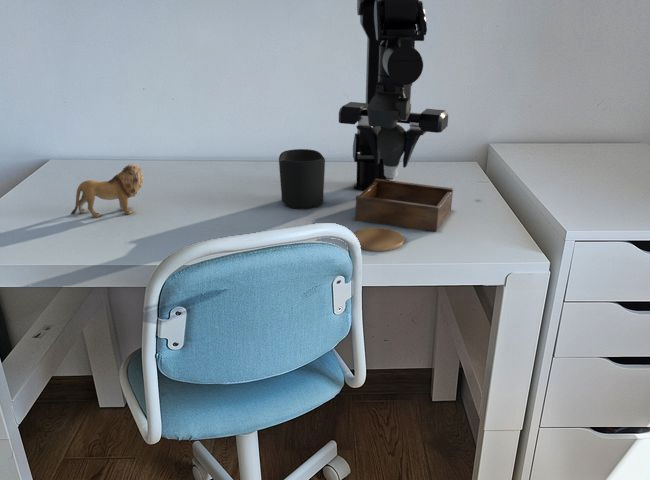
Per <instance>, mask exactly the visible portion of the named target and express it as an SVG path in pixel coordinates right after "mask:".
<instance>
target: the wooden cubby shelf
mask: <svg viewBox="0 0 650 480" xmlns="http://www.w3.org/2000/svg"><path fill="white" fill-rule="evenodd" d="M453 194H454V188H452V187H445V186H438V185H430V184H422V183H414V182H406V181H398V180H384V179H375V180H374V182H373V183H372V184H371V185H370V186H369V187H368V188H367V189H366V190H363V191H362V192H361V193H360V194H357V195H356V196H355V221H360V222H361V221H362V222H368V223H374V224H381V225H389V226H396V227H402V228H409V229H416V230H423V231H430V232H437V231H438V230H439V229H440V227H441V226H442V224H443V223H444V222H445V220H446V219H447V217H448V216H449V214H450V213H451V212H452V206H453V205H452V203H453Z"/></svg>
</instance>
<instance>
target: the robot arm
mask: <svg viewBox="0 0 650 480" xmlns="http://www.w3.org/2000/svg"><path fill="white" fill-rule="evenodd" d="M356 13H357V16H359V24H360V25H361V28H362V29H363V32H364V33H365V36H366V38H367V39H366V40H367V41H366V69H365V71H366V72H365V73H366V74H365V75H366V77H365V102H358V101H350V102H347V103H345V104H344V105H342V106H341V107H340V108H339V111H338V123H339V124H343V125H345V124H346V125H356V124H357V125H356V126H355V127H356V130H357V133H356V132H355V133H354V136H353V142H352V158H353V161H354V163H356V180H355V182H356V183H355V184H354V185H353V189H355V190H363V191H364V190H366V189H367V188H368V187H369V186H370V185H371V184H372V183H373V182H374V180H375V179H384V180H388V178H387V177H386V176H385V175H384V163H383V158H382V155H381V153H380V151H379V149H378V145H377V136H378V133H379V131H380V130H381V129H382V128H383V127H386V128H394V127H395V126H396V125H397V124H399V123H400V124H408V126H409V128H408V129H407V130H405V131H406V144H405V150H404V153H403V157H402V167H403V168H407V166H408V164H409V162H410V159H411V157H412V154H413V152H414V149H415V147H416V145H417V144H418V141H419V139H420V137H422V136H424V135H425V134H426V133H436V134H438V133H443V131H444V130H445V129H447V128H448V126H449V113H448V112H447V111H446V110H445V109H434V108H426V109H424V110H423V111H422V112H421V113H419V112H411V111H412V103H411V95H412V86H413V83H415V82H416V81H418V79H420V77H421V76H422V73H423V71H424V70H423V69H424V60H423V57H422V55H421V53H420V52H419V51H418V50H417V49H416V47H415V43H416V42H424V41H425V36H426V35H427V32H428V27H427V18H426V17H427V16H426V9H425V7H424V3H423V1H422V0H357V1H356Z"/></svg>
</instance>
